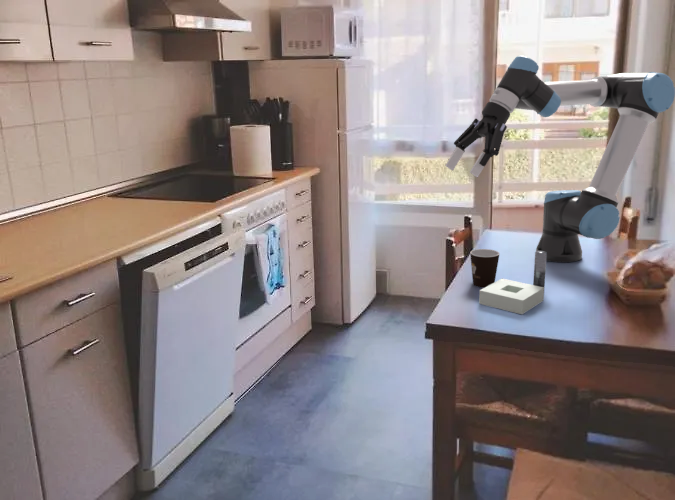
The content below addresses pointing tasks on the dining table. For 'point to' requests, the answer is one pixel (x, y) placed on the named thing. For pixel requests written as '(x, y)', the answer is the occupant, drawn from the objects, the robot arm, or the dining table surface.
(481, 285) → the coffee mug
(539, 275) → the peg
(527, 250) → the dining table surface
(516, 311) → the hole block
